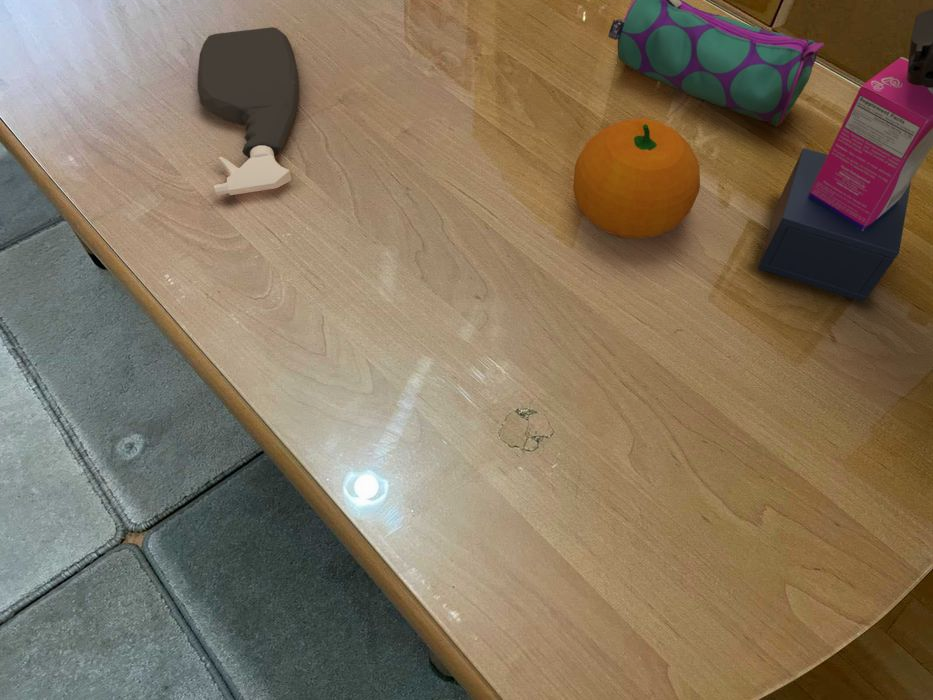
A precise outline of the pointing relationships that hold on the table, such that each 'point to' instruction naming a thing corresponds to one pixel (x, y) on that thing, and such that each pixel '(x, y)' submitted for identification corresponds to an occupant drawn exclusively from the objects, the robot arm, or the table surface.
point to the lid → (827, 224)
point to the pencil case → (715, 57)
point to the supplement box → (877, 148)
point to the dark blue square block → (820, 258)
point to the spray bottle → (251, 100)
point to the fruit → (636, 178)
